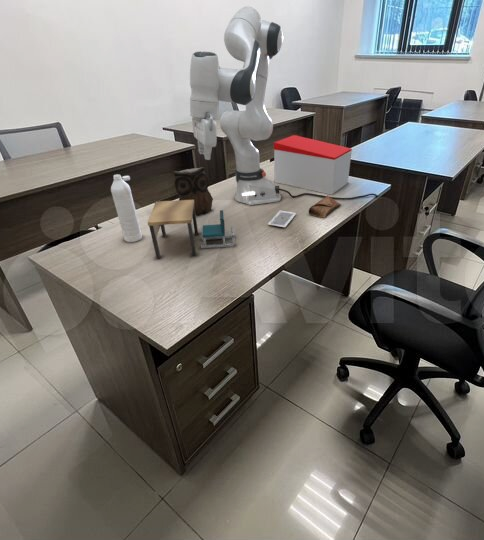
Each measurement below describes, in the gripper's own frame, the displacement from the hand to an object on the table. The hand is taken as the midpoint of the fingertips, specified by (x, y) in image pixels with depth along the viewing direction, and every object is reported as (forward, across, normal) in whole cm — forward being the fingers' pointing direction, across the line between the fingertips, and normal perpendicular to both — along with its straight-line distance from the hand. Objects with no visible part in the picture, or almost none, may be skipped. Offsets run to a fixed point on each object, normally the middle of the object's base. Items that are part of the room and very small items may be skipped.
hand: (204, 156), depth 114 cm
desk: (+33, +3, +9) cm, 34 cm away
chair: (+32, 0, -5) cm, 32 cm away
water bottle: (+35, +14, +24) cm, 44 cm away
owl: (+30, +32, -3) cm, 44 cm away
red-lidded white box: (+20, +48, -68) cm, 85 cm away
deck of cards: (+27, +8, -35) cm, 45 cm away
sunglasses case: (+24, +12, -58) cm, 64 cm away
